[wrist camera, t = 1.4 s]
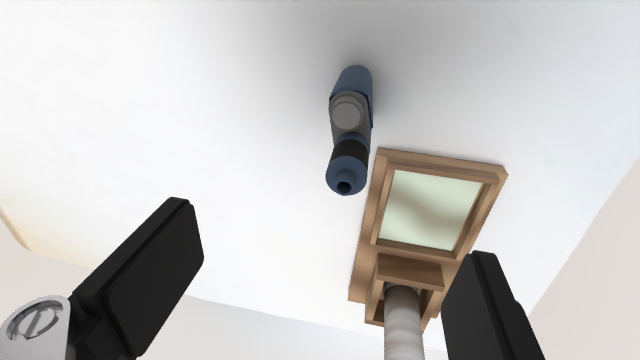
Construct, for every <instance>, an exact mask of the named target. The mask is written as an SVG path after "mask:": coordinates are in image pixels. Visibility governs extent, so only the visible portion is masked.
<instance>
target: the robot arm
mask: <svg viewBox="0 0 640 360" xmlns="http://www.w3.org/2000/svg"><path fill="white" fill-rule="evenodd" d="M203 261H204V254H203V249H202V244H201V239H200V234H199V230H198V225H197V220H196V215H195V210H194V206H193V205H192V204H190V202H189V200H187V199H182V198H176V197H170V198H168V199H167V200H166V201H165V202H164V203H163V204H162V205H161V206H160V207H159V208H158V209H157V210H156V211H155V212H154V213H153V214H152V215H151V216H150V217H149V218H148V219H147V220H146V221H145V222H144V223H142V224H141V225H140V226H139V227H138V228H137V229H136V230H135V231H134V232H133V233H132V234H131V235H130V236H129V237H128V238H127V239H126V240H125V241H124V242H123V243H122V244H121V245H120V246H119V247H118V248H117V249H116V250H115V251H114V252H113V253H112V254H111V255H110V256H109V257H108V258H107V259H106V260H105V261H104V262H103V263H102V264H101V265H100V266H98V267H97V268H96V269H95V270H94V271H93V272H92V273H91V274H90V276H88V277H87V278H86V279H85V280H84V281H83V282H82V283H81V284H80V285H79V286H78V287H77V288H76V289H75V290H74V291H73V292H72V293H73V294H72V295H71V296H70V297H69V298H68V299H67V298H65V297H62V296H60V295H50V296H45V297H41V298H38V299H36V300H33V301H31V302H29V303H27V304H25V305H24V306H22V307H20V308H19V309H17V310H16V311H15V312H13V313H12V314H11V315H10V316H9V317H8V318H7V319H6V320H5V322H4V323H3V324H2V326H1V328H0V360H136V358H137V357H140V356H142V355H143V354H144V353H145V352H146V350H147V349H148V347H149V346H150V344H151V343H152V341H153V340H154V338H155V336H156V335H157V334H158V332H159V330H160V329H161V327H162V326H163V324H164V323H165V321H166V320H167V318H168V317H169V315H170V314H171V312H172V310H173V309H174V308H175V306H176V304H177V303H178V301H179V300H180V298H181V297H182V295H183V294H184V292H185V291H186V289H187V288H188V286H189V285H190V283H191V282H192V280H193V278H194V277H195V275H196V274H197V272H198V271H199V269H200V268H201V266H202V264H203ZM441 318H442V324H443V330H444V335H445V341H446V347H447V353H448V358H449V360H545V358H544V355H543V353H542V351H541V348H540V346H539V344H538V341H537V339H536V337H535V335H534V332H533V330H532V328H531V325H530V323H529V321H528V318H527V316H526V314H525V312H524V309H523V308H522V306H521V304H520V303H519V302H518V301H515V299H514V296H513V294H512V292H511V289H510V287H509V285H508V282H507V280H506V277H505V275H504V273H503V270H502V268H501V266H500V263H499V261H498V258H497V257H496V255H495V254H494V253H488V252H483V251H477V250H474V251H473V252H472V253H471V254H466V255H465V257H464V259H463V261H462V263H461V265H460V267H459V269H458V271H457V273H456V275H455V277H454V279H453V281H452V283H451V285H450V287H449V289H448V291H447V293H446V296H445V298H444V300H443V302H442V304H441Z"/></svg>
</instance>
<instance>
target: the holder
mask: <svg viewBox="0 0 640 360" xmlns="http://www.w3.org/2000/svg"><path fill="white" fill-rule="evenodd" d="M507 177H508V173H507V172H506V170H505V169H504V167H503V166H500V165H493V164H486V163H479V162H472V161H466V160H459V159H452V158H445V157H438V156H431V155H425V154H418V153H411V152H404V151H397V150H390V149H384V148H377V153H376V158H375V163H374V168H373V173H372V178H371V183H370V188H369V193H368V198H367V202H366V207H365V212H364V217H363V222H362V227H361V232H360V237H359V242H358V247H357V252H356V257H355V262H354V267H353V272H352V277H351V281H350V286H349V292H348V301H353V302H357V303H362V304H365V322H364V323H367V324H372V325H376V326H381V327H384V348H385V349H384V352H385V353H384V359H385V360H425V357H424V347H423V339H422V334H423V332H424V330H425V328H426V326H427V324H428V322H429V320H430V318H437V316H438V314H439V312H440V310H441V304H442V302H443V300H444V298H445V296H446V293H447V291H448V289H449V287H450V285H451V283H452V281H453V279H454V277H455V275H456V273H457V271H458V269H459V267H460V265H461V263H462V261H463V259H464V257H465V255H466V254H469V252H470V250H471V248H472V246H473V244H474V242H475V240H476V238H477V236H478V234H479V232H480V230H481V228H482V226H483V224H484V222H485V220H486V218H487V216H488V215H489V213H490V211H491V209H492V207H493V205H494V203H495V201H496V199H497V197H498V195H499V193H500V191H501V189H502V187H503V185H504V183H505V181H506V179H507Z"/></svg>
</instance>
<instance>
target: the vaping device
mask: <svg viewBox="0 0 640 360" xmlns="http://www.w3.org/2000/svg"><path fill="white" fill-rule="evenodd" d="M329 115H330V122H331V129H332V135H333V142H334V149H333V152H332V155H331V159H330V161H332V162H329V165H328V168H327V171H326V182H327V184H328V186H329V187H330V188H331V189H332V190H333V191H334V192H336V193H338V194H340V195H343V196H347V195H354V194H356V193H358V192H360V191H361V190H362V189H363V188H364V187H365V185H366V182H367V172H368V160H369V159H368V158H369V154H370V142H371V130H372V128H373V108H372V85H371V75H370V73H369V71H368V70H367V69H365V68H364V67H361V66H352V67H348V68H347V69H345V70H344V71H343V72H342V73H341V75H340V77H339V79H338V81H337V83H336V85H335V87H334V89H333V91H332V93H331V95H330V98H329Z"/></svg>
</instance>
